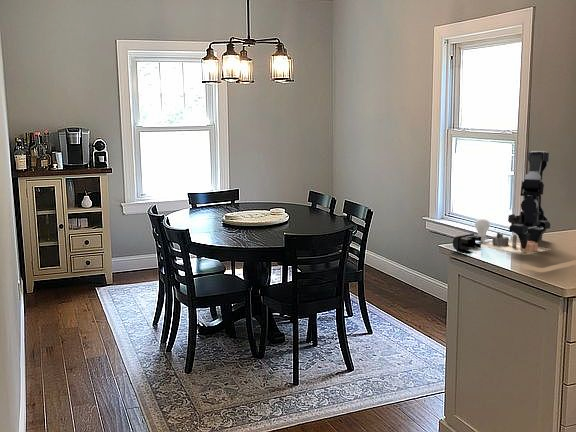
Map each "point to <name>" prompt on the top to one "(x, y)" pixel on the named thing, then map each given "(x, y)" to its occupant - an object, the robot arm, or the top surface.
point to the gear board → (509, 245)
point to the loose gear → (530, 246)
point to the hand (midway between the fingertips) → (528, 247)
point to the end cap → (466, 243)
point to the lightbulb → (482, 227)
